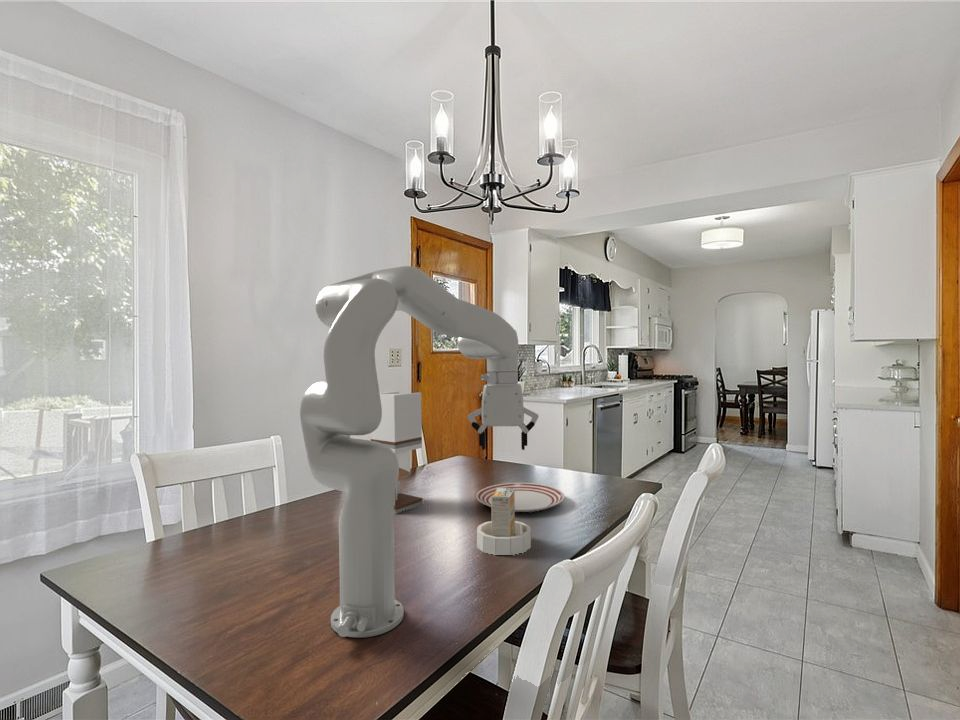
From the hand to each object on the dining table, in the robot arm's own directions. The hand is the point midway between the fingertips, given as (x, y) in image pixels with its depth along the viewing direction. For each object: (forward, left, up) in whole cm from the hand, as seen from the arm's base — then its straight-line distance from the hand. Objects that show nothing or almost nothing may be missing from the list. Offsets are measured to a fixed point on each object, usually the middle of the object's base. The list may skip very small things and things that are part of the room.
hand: (503, 448), depth 123 cm
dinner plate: (+34, -4, -24) cm, 42 cm away
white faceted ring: (0, 0, -24) cm, 24 cm away
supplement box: (0, 0, -24) cm, 24 cm away
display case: (+30, +34, -24) cm, 51 cm away
